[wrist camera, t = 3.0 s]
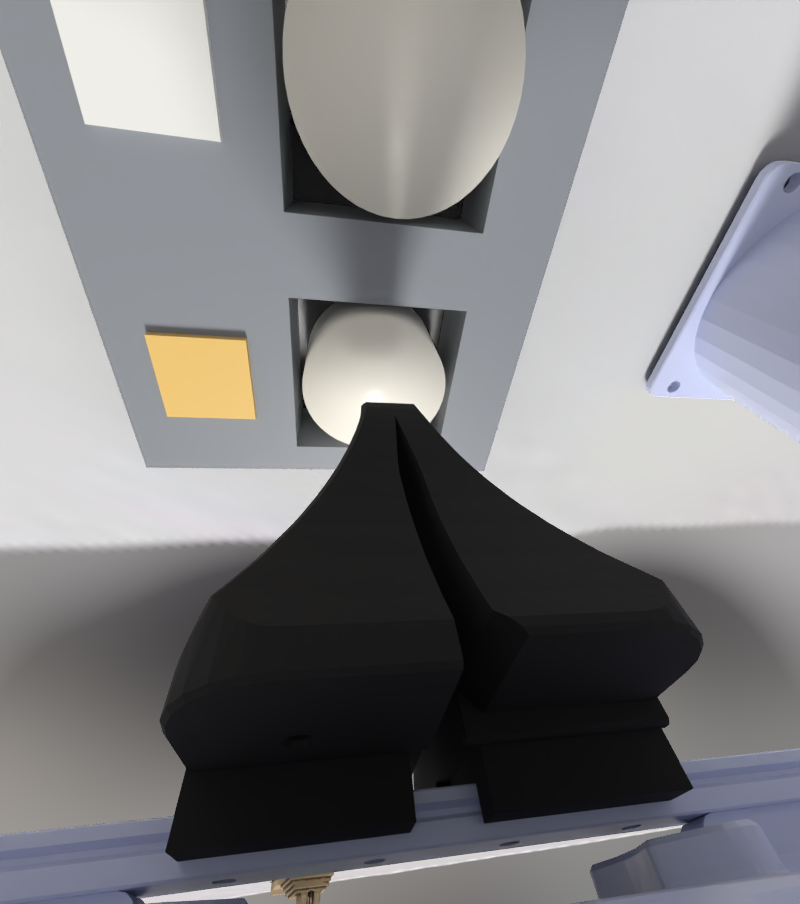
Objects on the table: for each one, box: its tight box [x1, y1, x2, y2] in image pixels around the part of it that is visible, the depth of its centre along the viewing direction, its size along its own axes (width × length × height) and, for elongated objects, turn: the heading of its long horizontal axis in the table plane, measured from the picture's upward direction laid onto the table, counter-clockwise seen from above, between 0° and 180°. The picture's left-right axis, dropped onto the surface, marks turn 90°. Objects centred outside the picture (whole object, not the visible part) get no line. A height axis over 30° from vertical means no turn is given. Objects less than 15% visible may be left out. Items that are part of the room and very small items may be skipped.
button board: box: [0, 0, 629, 471], centre depth 9 cm, size 12×21×3 cm, turn 173°
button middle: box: [283, 0, 526, 219], centre depth 8 cm, size 4×4×3 cm
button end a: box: [302, 301, 445, 444], centre depth 13 cm, size 4×4×3 cm
